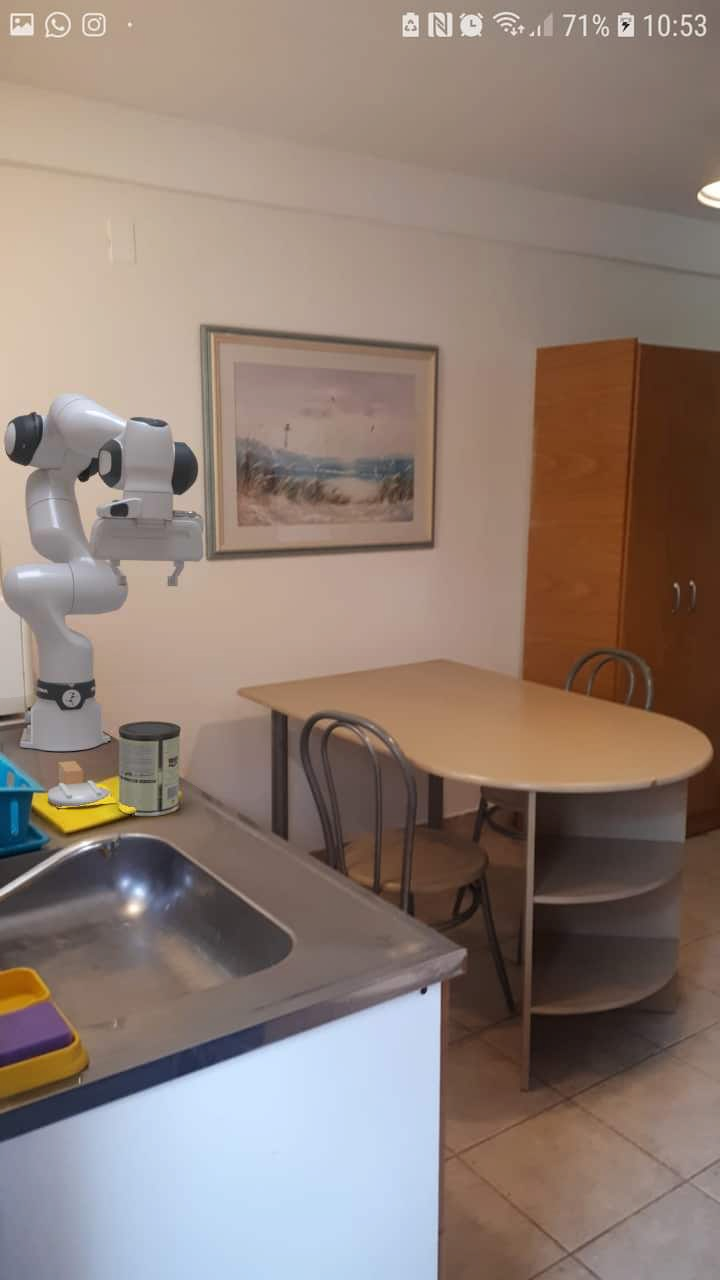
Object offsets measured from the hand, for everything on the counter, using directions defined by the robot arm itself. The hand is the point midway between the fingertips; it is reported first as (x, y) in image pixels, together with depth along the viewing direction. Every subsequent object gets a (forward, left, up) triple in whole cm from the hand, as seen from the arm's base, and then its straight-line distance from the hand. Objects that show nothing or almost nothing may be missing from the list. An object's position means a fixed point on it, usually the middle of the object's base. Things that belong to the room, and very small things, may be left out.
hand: (146, 585), depth 172 cm
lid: (+3, -13, -37) cm, 39 cm away
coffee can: (+14, -3, -37) cm, 40 cm away
